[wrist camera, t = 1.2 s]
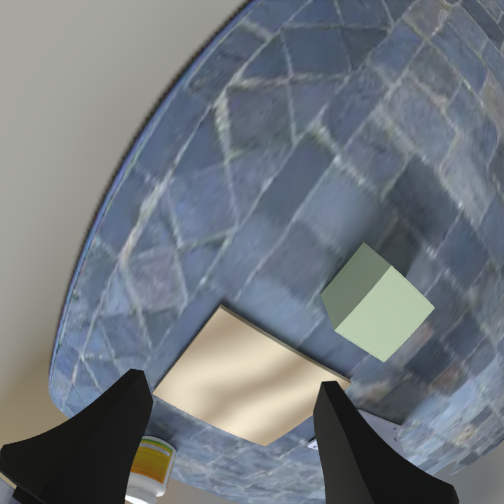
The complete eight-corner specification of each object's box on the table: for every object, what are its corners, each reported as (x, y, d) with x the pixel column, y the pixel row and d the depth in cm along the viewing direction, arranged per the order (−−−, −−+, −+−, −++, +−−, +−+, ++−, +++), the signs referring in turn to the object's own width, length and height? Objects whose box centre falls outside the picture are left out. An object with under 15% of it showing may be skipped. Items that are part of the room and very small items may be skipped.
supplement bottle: (132, 431, 27) (108, 487, 18) (169, 437, 27) (149, 499, 18) (147, 452, 29) (128, 504, 20) (181, 457, 28) (167, 514, 19)
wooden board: (349, 379, 22) (351, 383, 22) (265, 442, 26) (265, 446, 25) (220, 303, 20) (219, 307, 20) (154, 389, 24) (152, 393, 23)
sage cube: (404, 278, 19) (434, 307, 15) (363, 324, 21) (383, 362, 16) (363, 241, 19) (391, 265, 14) (319, 293, 20) (334, 330, 15)
